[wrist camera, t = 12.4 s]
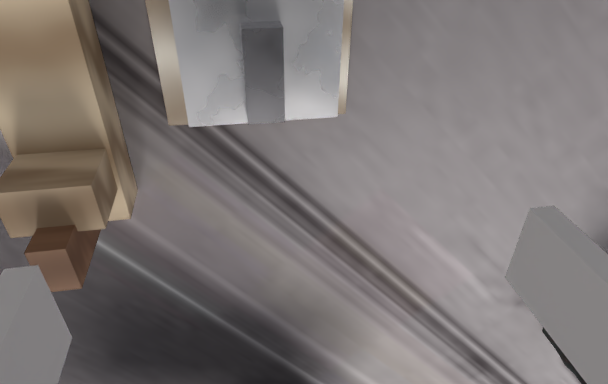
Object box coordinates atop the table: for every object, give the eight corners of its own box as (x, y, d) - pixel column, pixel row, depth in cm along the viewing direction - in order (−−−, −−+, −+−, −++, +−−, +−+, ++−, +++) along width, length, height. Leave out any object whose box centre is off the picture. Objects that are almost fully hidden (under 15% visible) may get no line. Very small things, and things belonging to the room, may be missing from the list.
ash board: (341, 107, 31) (345, 113, 30) (170, 119, 30) (168, 125, 29) (357, -136, 23) (362, -137, 22) (121, -140, 21) (118, -141, 21)
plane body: (137, 189, 32) (114, 284, 25) (58, 196, 32) (9, 296, 24) (25, -242, 19) (-100, -325, 11) (-117, -249, 18) (-353, -343, 11)
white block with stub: (321, 87, 29) (342, 126, 25) (191, 95, 28) (187, 137, 23) (327, -91, 23) (356, -84, 19) (164, -91, 22) (151, -84, 18)
